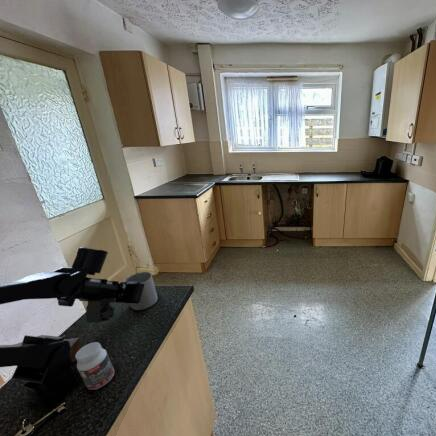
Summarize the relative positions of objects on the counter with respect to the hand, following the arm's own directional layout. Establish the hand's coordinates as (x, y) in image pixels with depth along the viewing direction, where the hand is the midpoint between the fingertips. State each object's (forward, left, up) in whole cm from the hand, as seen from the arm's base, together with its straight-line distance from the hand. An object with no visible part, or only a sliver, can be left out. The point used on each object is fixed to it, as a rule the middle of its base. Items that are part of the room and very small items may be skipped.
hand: (131, 293), depth 79 cm
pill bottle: (-22, -11, -7) cm, 26 cm away
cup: (+4, +1, -7) cm, 8 cm away
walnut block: (-19, +4, -7) cm, 20 cm away
